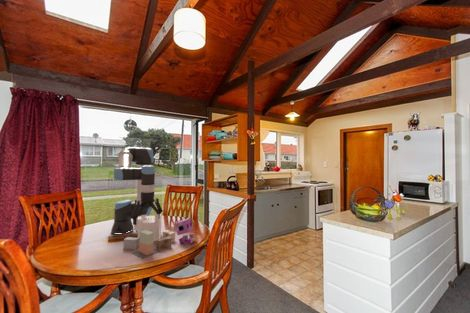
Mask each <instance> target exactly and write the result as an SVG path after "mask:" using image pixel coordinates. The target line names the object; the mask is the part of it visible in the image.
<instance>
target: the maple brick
mask: <svg viewBox="0 0 470 313" xmlns="http://www.w3.org/2000/svg"><path fill="white" fill-rule="evenodd" d="M168 236H169V237H171V238H172V239H171V243H173V242H175V241H176V232H175V231H172V230H167V229H166V230H163V231H162V238H164V237H168Z"/></svg>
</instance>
